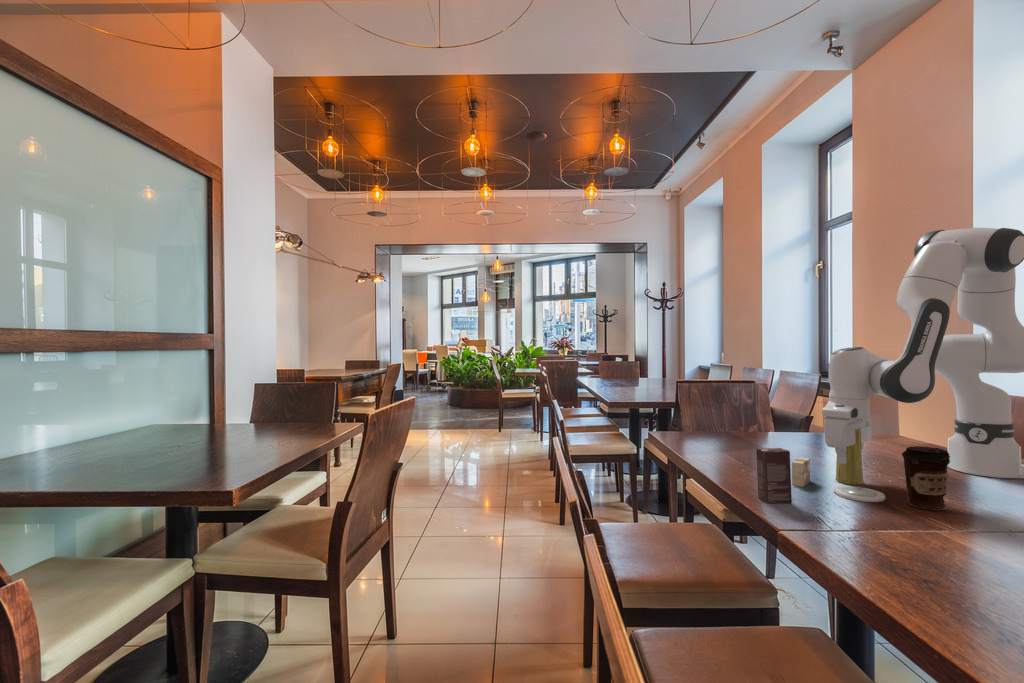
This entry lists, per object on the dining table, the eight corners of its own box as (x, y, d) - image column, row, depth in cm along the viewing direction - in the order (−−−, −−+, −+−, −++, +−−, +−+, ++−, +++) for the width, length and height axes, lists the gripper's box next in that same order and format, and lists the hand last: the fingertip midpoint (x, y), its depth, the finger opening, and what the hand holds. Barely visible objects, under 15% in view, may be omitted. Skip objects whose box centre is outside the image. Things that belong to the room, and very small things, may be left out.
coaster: (844, 486, 121) (843, 483, 121) (892, 496, 112) (891, 493, 112) (826, 494, 115) (826, 490, 115) (875, 505, 107) (875, 501, 107)
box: (781, 497, 113) (780, 447, 113) (792, 503, 108) (791, 451, 109) (756, 497, 113) (755, 447, 113) (766, 503, 108) (765, 451, 109)
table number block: (799, 479, 128) (799, 457, 128) (810, 481, 126) (810, 458, 126) (792, 485, 123) (791, 462, 123) (803, 487, 121) (802, 463, 121)
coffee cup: (963, 514, 100) (962, 453, 101) (918, 512, 102) (917, 452, 102) (935, 501, 109) (934, 445, 109) (894, 499, 111) (893, 444, 111)
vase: (869, 485, 122) (868, 430, 122) (845, 485, 122) (844, 430, 122) (852, 478, 128) (852, 426, 128) (830, 478, 128) (829, 426, 128)
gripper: (851, 404, 133) (852, 453, 133) (818, 410, 122) (819, 464, 121) (878, 406, 128) (879, 457, 128) (846, 413, 116) (847, 469, 116)
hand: (849, 460), depth 125 cm, fingers open, 7 cm apart
